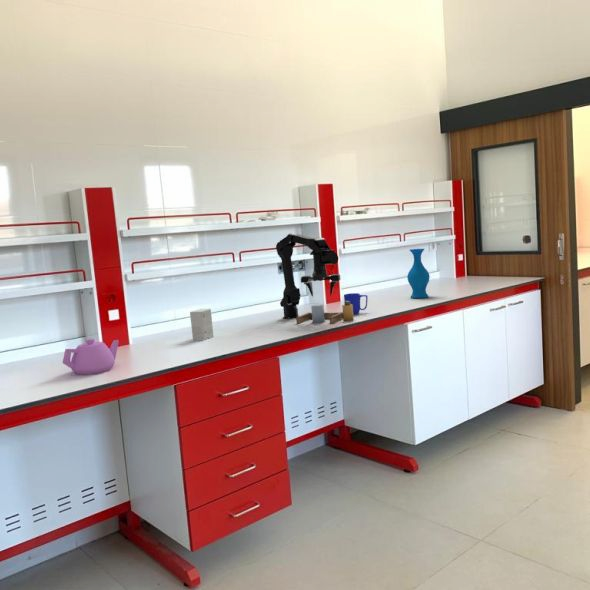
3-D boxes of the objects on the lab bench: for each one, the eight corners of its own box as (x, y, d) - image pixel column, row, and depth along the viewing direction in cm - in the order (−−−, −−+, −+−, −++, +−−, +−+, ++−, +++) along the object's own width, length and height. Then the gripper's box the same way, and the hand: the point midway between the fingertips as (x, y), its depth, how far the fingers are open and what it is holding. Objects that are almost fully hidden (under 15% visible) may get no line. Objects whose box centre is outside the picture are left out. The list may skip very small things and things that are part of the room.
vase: (426, 299, 345) (423, 249, 342) (405, 299, 352) (402, 250, 348) (433, 296, 355) (431, 248, 352) (412, 296, 362) (410, 248, 358)
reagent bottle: (341, 321, 293) (340, 302, 292) (345, 319, 298) (344, 300, 297) (351, 321, 291) (350, 302, 290) (355, 319, 296) (353, 300, 294)
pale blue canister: (310, 322, 296) (309, 306, 295) (317, 319, 303) (316, 303, 302) (321, 322, 293) (320, 306, 292) (328, 319, 301) (327, 303, 300)
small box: (202, 336, 282) (199, 308, 280) (213, 336, 279) (211, 308, 278) (192, 340, 274) (189, 311, 273) (204, 340, 272) (201, 311, 270)
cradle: (296, 323, 297) (296, 317, 296) (308, 318, 309) (308, 312, 309) (332, 323, 288) (332, 317, 288) (343, 318, 301) (343, 312, 301)
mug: (367, 314, 308) (366, 294, 307) (344, 315, 311) (342, 295, 310) (369, 311, 316) (367, 292, 315) (346, 312, 319) (344, 293, 318)
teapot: (74, 380, 215) (70, 346, 214) (56, 374, 226) (52, 342, 225) (130, 366, 230) (127, 335, 229) (111, 361, 241) (107, 332, 240)
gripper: (297, 266, 290) (299, 299, 292) (336, 264, 285) (338, 297, 287) (302, 264, 300) (304, 295, 302) (339, 262, 296) (341, 294, 298)
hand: (321, 296), depth 297 cm, fingers open, 9 cm apart
